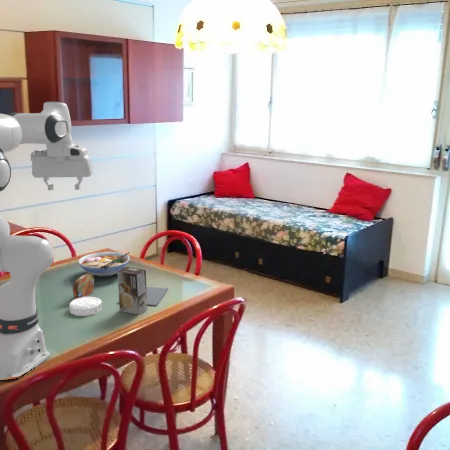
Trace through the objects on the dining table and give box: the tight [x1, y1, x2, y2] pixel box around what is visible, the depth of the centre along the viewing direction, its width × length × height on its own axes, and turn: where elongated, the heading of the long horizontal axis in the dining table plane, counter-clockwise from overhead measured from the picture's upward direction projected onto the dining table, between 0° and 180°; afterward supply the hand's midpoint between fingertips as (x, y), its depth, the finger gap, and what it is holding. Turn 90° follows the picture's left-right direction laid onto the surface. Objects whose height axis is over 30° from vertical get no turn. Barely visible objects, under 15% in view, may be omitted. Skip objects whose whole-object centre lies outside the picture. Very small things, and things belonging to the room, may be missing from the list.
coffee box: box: [117, 266, 148, 316], centre depth 196 cm, size 9×6×16 cm
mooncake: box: [68, 296, 103, 317], centre depth 198 cm, size 12×12×4 cm
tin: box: [72, 273, 96, 300], centre depth 210 cm, size 15×3×8 cm, turn 168°
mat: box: [116, 286, 169, 307], centre depth 211 cm, size 18×16×1 cm
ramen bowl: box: [78, 251, 131, 278], centre depth 235 cm, size 25×23×8 cm
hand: (64, 189), depth 180 cm, fingers open, 8 cm apart
